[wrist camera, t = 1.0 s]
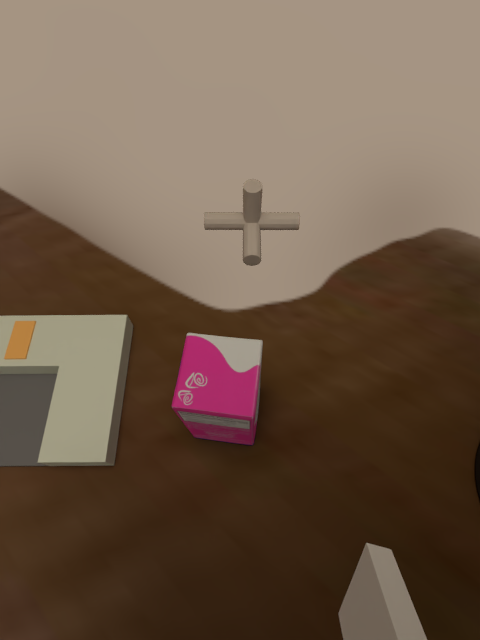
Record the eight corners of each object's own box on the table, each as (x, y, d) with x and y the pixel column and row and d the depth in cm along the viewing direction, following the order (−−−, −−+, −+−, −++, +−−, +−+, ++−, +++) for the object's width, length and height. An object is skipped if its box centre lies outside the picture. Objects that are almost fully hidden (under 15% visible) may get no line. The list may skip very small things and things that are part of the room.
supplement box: (201, 379, 38) (187, 328, 27) (260, 386, 37) (268, 338, 27) (190, 438, 35) (169, 407, 25) (254, 447, 35) (259, 419, 24)
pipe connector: (210, 218, 47) (203, 150, 38) (290, 218, 47) (301, 150, 38) (206, 286, 43) (197, 226, 34) (295, 287, 43) (309, 226, 34)
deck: (114, 465, 34) (104, 461, 32) (-108, 467, 34) (-135, 463, 32) (133, 325, 40) (126, 313, 38) (-54, 327, 40) (-73, 315, 38)
